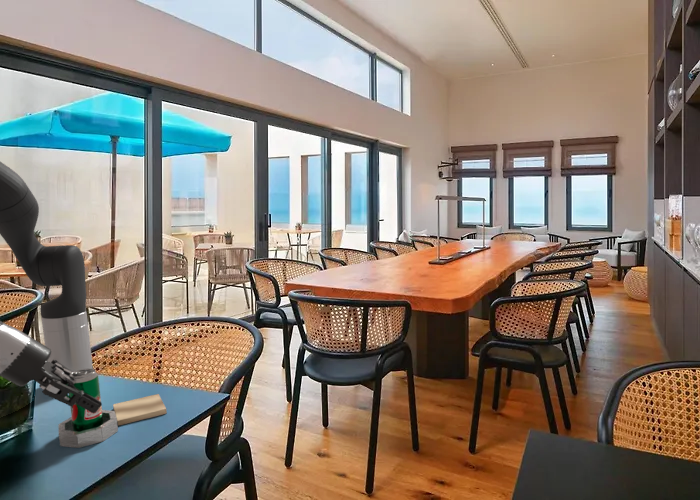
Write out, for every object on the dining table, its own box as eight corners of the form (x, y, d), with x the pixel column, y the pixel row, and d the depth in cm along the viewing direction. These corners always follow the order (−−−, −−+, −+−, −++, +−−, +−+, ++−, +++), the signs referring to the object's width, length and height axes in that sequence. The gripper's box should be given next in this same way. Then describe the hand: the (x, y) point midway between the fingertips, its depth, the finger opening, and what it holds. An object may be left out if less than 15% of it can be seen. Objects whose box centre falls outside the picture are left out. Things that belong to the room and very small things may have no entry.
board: (113, 408, 104) (113, 404, 104) (158, 398, 108) (158, 393, 108) (118, 425, 96) (117, 420, 96) (166, 413, 101) (166, 408, 101)
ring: (59, 431, 95) (58, 418, 95) (114, 417, 100) (113, 405, 99) (60, 452, 87) (58, 439, 87) (119, 437, 92) (118, 424, 91)
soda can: (91, 441, 90) (84, 378, 89) (67, 439, 91) (60, 377, 90) (110, 428, 95) (103, 368, 94) (87, 426, 96) (80, 367, 95)
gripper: (26, 346, 81) (115, 399, 88) (30, 327, 93) (108, 374, 101) (-9, 385, 79) (85, 435, 86) (-1, 360, 91) (81, 406, 99)
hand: (97, 402), depth 94 cm, fingers closed on soda can, 5 cm apart
